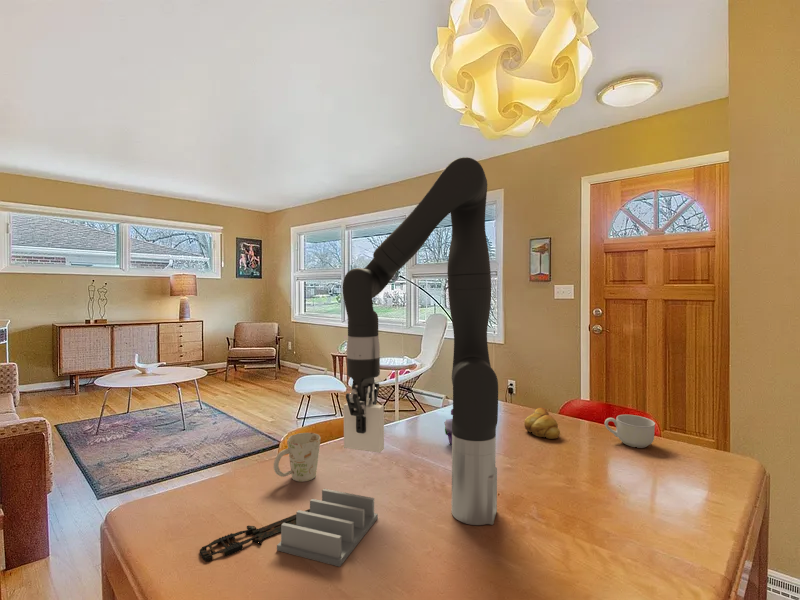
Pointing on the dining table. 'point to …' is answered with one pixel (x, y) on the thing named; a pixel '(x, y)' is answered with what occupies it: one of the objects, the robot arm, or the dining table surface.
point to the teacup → (633, 430)
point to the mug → (301, 456)
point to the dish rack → (329, 527)
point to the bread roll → (542, 424)
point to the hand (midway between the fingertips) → (363, 430)
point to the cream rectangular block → (374, 430)
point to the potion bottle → (449, 428)
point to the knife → (236, 546)
